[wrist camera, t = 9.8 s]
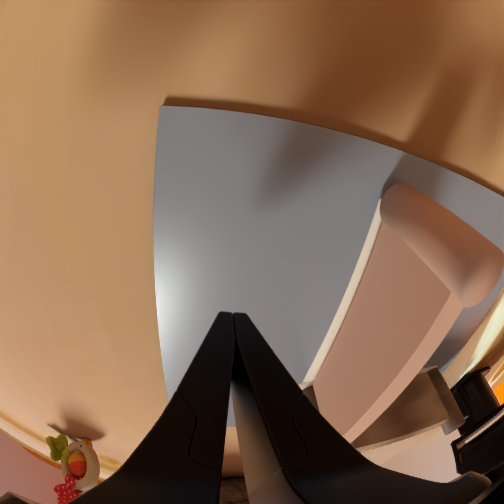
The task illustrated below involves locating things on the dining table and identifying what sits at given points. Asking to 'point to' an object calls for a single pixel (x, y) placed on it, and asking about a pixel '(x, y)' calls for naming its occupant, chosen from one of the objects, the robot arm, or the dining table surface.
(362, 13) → the dining table surface
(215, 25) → the dining table surface
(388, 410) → the fixed fence
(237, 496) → the clay pot
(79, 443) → the bird rattle
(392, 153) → the card
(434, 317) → the swing panel
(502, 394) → the orange juice
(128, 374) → the dining table surface
